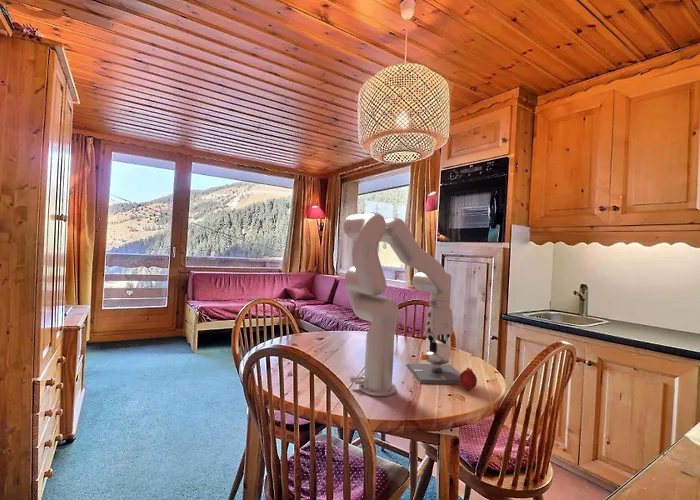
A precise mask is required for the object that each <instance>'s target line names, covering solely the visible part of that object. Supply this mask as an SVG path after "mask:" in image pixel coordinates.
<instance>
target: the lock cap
mask: <svg viewBox="0 0 700 500" xmlns="http://www.w3.org/2000/svg"><path fill="white" fill-rule="evenodd" d="M435 342H436V343H437V346H436V353H433V352H431V351H430V341H429V339H428V338H427V337H426V338H425V352H424V353H421V354H420V360H421V361H426V362H428V363H430V364H431V363H435V364H449V363H450V358H451V350H452V349H451V348H452V347H451V346H450V345H448V344H447V343H446V344H444V343H442V342H440V341H439V340H438V339H436V341H435Z"/></svg>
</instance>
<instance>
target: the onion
mask: <svg viewBox="0 0 700 500" xmlns="http://www.w3.org/2000/svg"><path fill="white" fill-rule="evenodd" d="M465 369H466V370H463V371H462V372H461V375H460V378H459V381H460V384H459V385H461V387H462V388H463V389H464V390H465V391H467V392H468V391H471V390H473V389H474V388H475V387H476V386H477V383H478V380H477V379H478V378H477V376H476V374H475V373H474V372H473V371H472V370H471V369H470V367H466V368H465Z"/></svg>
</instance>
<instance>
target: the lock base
mask: <svg viewBox="0 0 700 500" xmlns="http://www.w3.org/2000/svg"><path fill="white" fill-rule="evenodd" d="M406 367H407V369H408V370H409V371H410V372H411V374H412V375H413V376H414V378H416V380H417V381H418V382H419V383H420V385H421V384H423V385H424V384H427V385H429V384H430V385H434V384H435V385H461V384H460V381H459V378H460V375H461V373H462V372H461V373H460V371H458V370H457V369H456V368H454V366H452V365H451V363H450V364H449V363H447V364H435V363H431V362H430V363H407V365H406Z"/></svg>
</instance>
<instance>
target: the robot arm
mask: <svg viewBox="0 0 700 500" xmlns="http://www.w3.org/2000/svg"><path fill="white" fill-rule="evenodd" d="M343 231H344V234H345V235H346V236H347V237H348V238H349V239H352V240H354V244H353V247H352V251H351V258H352V262H353V266H351V267H349V269H348V270H347V271H346V272H345V275H344V288H345V290H346V293H347V297H348V299H349V302H350V305H351V308H352V310H353V313H354V314H355V316H356V317H357V318H359V319H361V320H363V321H368V322H369V323H370V326H369V327H368V330H367V332H366V336H365V337H366V338H365V356H364V357H365V358H364V371H363V372H362V375H358V376H356V375H353V376H352V375H351V376H350V377H349V378H350V381H349V383H354V385H358V388H359V390H360V392H362V393H363V394H366V395H368V396H373V397H389V396H393V395H394V394H395V393H397V386H396V385H395V384H394V383H393V372H394V371H393V369H394V355H395V353H394V352H395V351H394V350H395V335H396V329H397V328H396V327H397V323H398V319H399V314H400V309H399V305H398V304H397V302H396V301H395V300H394V299H393V298H391V297H389V296H384V295H382V294H384V293H385V291H386V288H387V281H386V278H385V274H384V270H383V267H382V264H381V260H380V257H379V252H378V250H379V244H380V243H381V242H384V243H388V245H390V247H391V249H392V250H393V252H394V253H395V255H396V257H397V258H398V259H399V261H400V262H401V263H402V264H404V265H406V266H408V267H410V268H412V269H415V270H417V271H419V272H416V273H415V274H413V276H412V279H411V282H412V286H413V287H414V289H416V290H418V291H420V292H425V293H430V295H429V297H430V300H429V301H428V306H429V307H428V309H427V312H426V313H427V314H426V320H425V330H424V331H423V336H425V337H426V338H428V339H429V341H430V351H431V352H433V353H436V346H437V343H436V342H435V341H436V340H437V336H439V337H440V339H439V340H438V341H440V342H442V343H444V344H446V345H447V342H448V339H449V338H450V336H451V335H452V334H454V329H453V328H454V325H453V324H454V321H453V312H452V308H451V292H452V274H450V273H448V272H446V270H445V268H444V267H443V265H442V264H441V263H440V262H439V261H438V260H437V259H436V258H435V257H434V256H432V255H431V254H430V253H428V252H427V251H425V250H424V249H422V248H421V247H420V245H419V243H418V242H417V240H416V238H415V237H414V236H413V234H412V233H411V230H410V229H409V226H407V224H406V223H405V222H404V220H403V219H401V218H398V217H384V216H383V215H382V214H380V213H376V212H369V213H368V212H366V213H358V214H350V215H348V216H347V217H346V219H345V220H344V222H343Z"/></svg>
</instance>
